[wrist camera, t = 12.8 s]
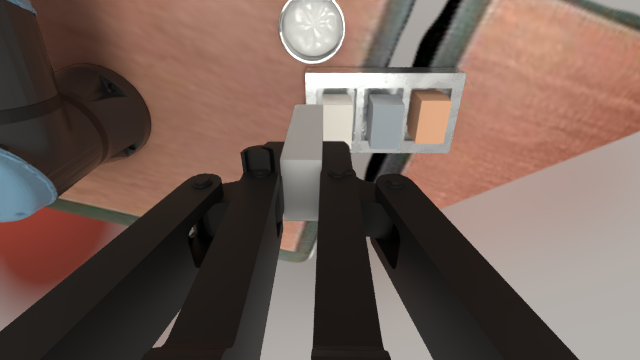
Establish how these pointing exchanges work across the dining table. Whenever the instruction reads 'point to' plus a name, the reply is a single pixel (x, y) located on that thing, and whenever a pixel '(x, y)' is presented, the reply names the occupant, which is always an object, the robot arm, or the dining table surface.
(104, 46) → the dining table surface
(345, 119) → the cream block
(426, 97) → the orange block
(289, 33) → the beer glass
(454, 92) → the grey tray
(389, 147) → the slate key
